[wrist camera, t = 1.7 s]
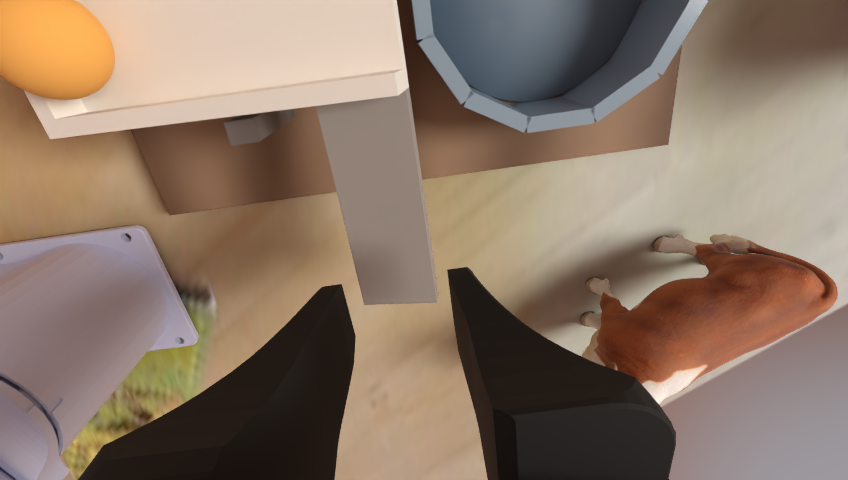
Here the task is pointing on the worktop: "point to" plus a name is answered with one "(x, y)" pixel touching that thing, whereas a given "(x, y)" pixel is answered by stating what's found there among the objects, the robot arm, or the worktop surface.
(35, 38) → the ball
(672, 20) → the bowl
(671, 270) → the worktop surface
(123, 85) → the tilted wooden ramp
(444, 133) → the base board
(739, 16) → the worktop surface
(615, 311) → the bull figurine
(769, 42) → the worktop surface
